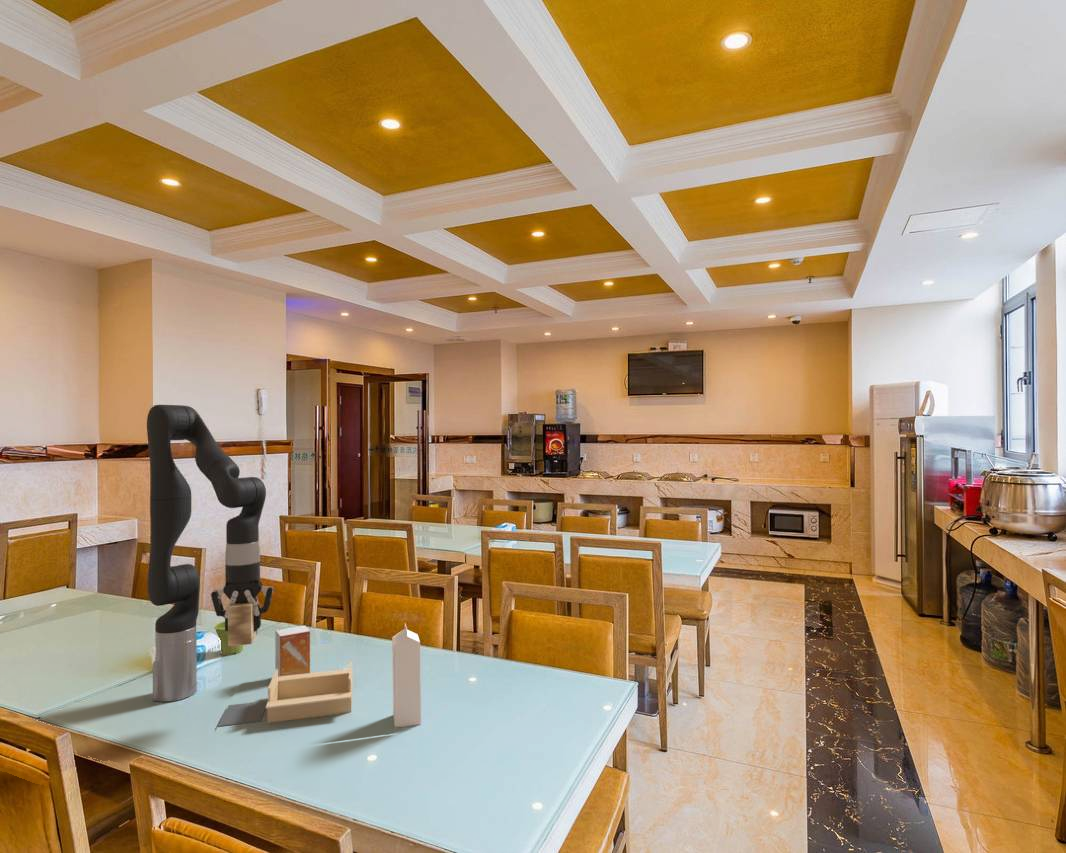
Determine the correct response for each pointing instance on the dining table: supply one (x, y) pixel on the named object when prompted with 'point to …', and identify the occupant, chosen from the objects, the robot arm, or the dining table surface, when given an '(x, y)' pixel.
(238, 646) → the plant pot
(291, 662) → the small box
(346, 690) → the carton
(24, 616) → the dining table surface
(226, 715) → the slate mat
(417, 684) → the milk
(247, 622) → the block
